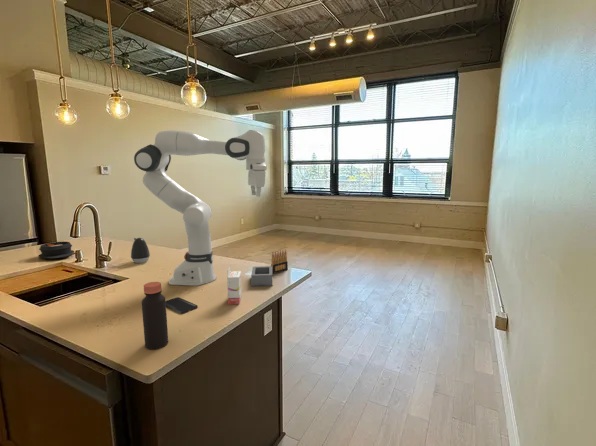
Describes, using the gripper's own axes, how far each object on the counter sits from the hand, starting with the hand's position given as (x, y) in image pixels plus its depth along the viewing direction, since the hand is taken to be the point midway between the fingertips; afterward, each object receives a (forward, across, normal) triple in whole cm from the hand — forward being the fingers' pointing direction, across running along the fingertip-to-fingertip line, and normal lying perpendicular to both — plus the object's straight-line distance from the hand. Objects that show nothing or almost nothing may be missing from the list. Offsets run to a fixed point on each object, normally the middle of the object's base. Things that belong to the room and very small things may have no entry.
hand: (255, 195), depth 150 cm
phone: (+44, +17, -36) cm, 59 cm away
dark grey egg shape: (+44, -57, -58) cm, 93 cm away
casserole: (+45, -90, -110) cm, 149 cm away
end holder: (+43, 0, +3) cm, 43 cm away
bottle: (+44, +46, -43) cm, 76 cm away
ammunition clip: (+43, -12, +16) cm, 47 cm away
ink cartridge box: (+43, +19, -14) cm, 49 cm away
